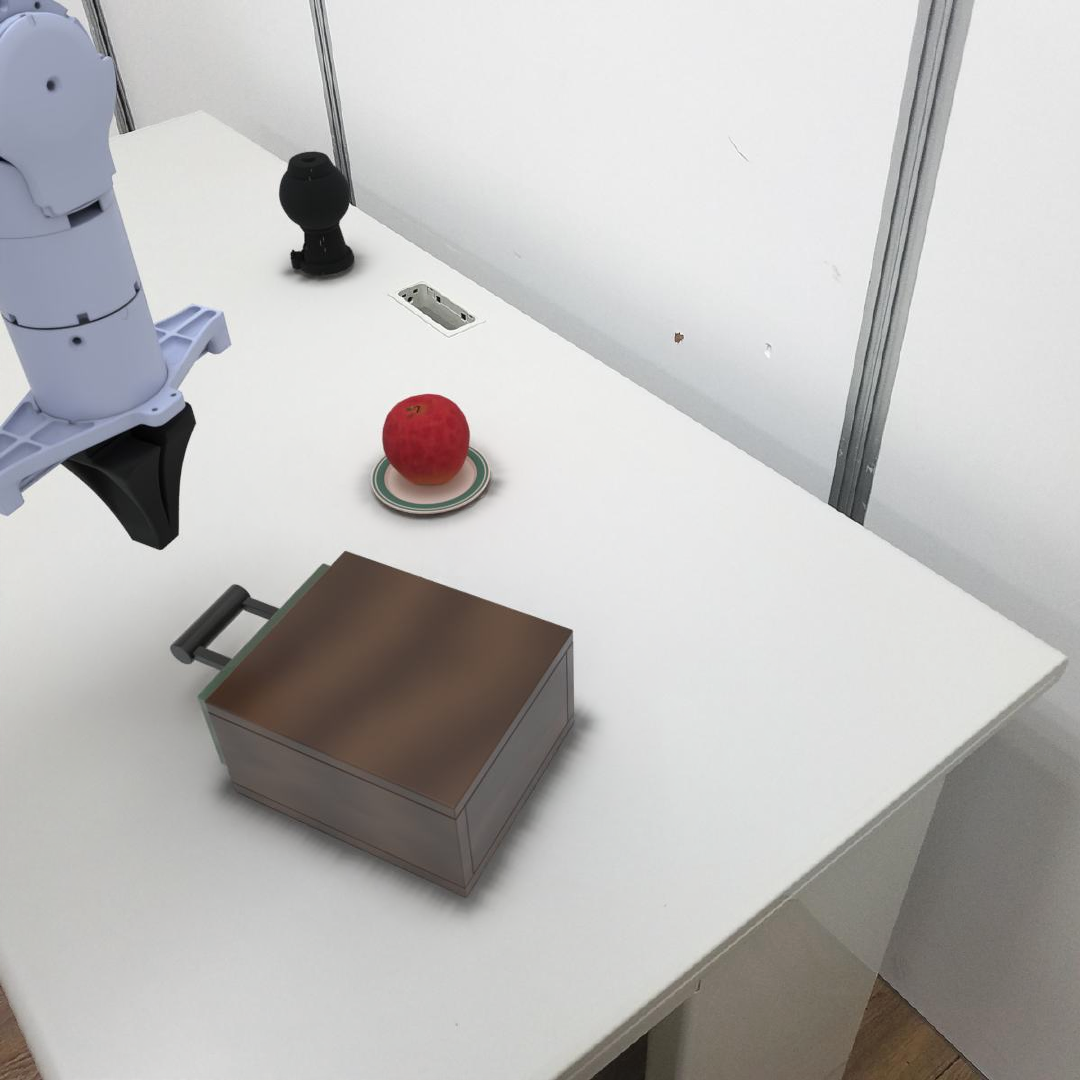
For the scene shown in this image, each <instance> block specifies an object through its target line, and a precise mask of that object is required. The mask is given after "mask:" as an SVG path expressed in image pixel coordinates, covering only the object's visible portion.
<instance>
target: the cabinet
mask: <svg viewBox="0 0 1080 1080" xmlns="http://www.w3.org/2000/svg"><path fill="white" fill-rule="evenodd" d="M329 566H330V567H329V568H328V569H327V570H326V571H325V572H324V574H323V575H322V576H321V577H320V578H319V579H318V580H317V581H316V582H315V583H314V584H313V585H312V586H311V587H310V588H309V590H308V591H307V592H306V593H305V594H304V595H303V596H302V597H301V598H300V599H299V600H298V601H297V602H296V603H295V605H294V606H293V607H292V608H291V609H290V610H289V611H288V612H287V613H286V614H285V615H284V616H283V617H282V618H281V619H280V621H279V622H278V623H277V624H276V625H275V626H274V627H273V628H272V629H271V630H270V631H269V632H268V633H267V634H266V635H265V637H264V638H263V639H262V640H261V641H260V642H259V643H258V644H257V645H256V646H255V647H254V648H253V649H252V650H251V652H250V653H249V654H248V655H247V656H246V657H245V658H244V659H243V660H242V661H241V662H240V663H239V664H238V665H237V666H236V668H235V669H234V670H233V671H232V672H231V673H230V674H229V675H228V676H227V677H226V678H225V679H224V680H223V681H222V682H221V684H220V685H219V686H218V687H217V688H216V689H215V690H214V691H213V692H212V693H211V694H210V695H209V696H208V697H207V699H206V700H205V701H204V702H205V705H206V708H207V711H208V714H209V717H210V720H211V723H212V725H213V728H214V731H215V734H216V737H217V739H218V742H219V745H220V748H221V751H222V754H223V756H224V759H225V762H226V765H225V766H226V767H227V770H228V773H229V776H230V778H231V781H232V784H233V787H234V790H235V792H237V793H238V794H241V795H244V796H246V797H247V798H250V799H252V800H254V801H256V802H259V803H261V804H263V805H264V806H267V807H269V808H272V809H274V810H275V811H278V812H280V813H282V814H285V815H287V816H289V817H290V818H293V819H295V820H297V821H299V822H302V823H304V824H306V825H309V826H311V827H313V828H314V829H317V830H319V831H321V832H323V833H326V834H328V835H329V836H332V837H334V838H337V839H339V840H341V841H343V842H344V843H347V844H350V845H351V846H354V847H356V848H358V849H361V850H363V851H364V852H367V853H369V854H371V855H373V856H375V857H378V858H380V859H382V860H384V861H385V862H388V863H391V864H393V865H395V866H397V867H400V868H401V869H404V870H406V871H408V872H410V873H413V874H415V875H417V876H419V877H421V878H423V879H425V880H427V881H430V882H432V883H434V884H436V885H439V886H441V887H443V888H445V889H447V890H449V891H451V892H454V893H456V894H458V895H460V896H462V897H465V898H467V897H468V896H469V894H470V892H471V891H472V890H473V888H474V886H475V884H476V883H477V881H478V879H479V878H480V876H481V875H482V873H483V871H484V869H485V868H486V866H487V865H488V863H489V861H490V860H491V859H492V857H493V855H494V853H495V851H496V850H497V848H498V847H499V845H500V843H501V842H502V841H503V839H504V837H505V836H506V833H507V832H508V830H509V829H510V827H511V825H512V824H513V822H514V820H515V819H516V818H517V816H518V814H519V812H520V811H521V810H522V807H523V806H524V804H525V803H526V801H527V800H528V798H529V796H530V795H531V793H532V791H533V790H534V788H535V786H536V785H537V783H538V782H539V780H540V778H541V777H542V775H543V773H544V772H545V770H546V768H547V767H548V765H549V764H550V762H551V760H552V759H553V757H554V756H555V754H556V752H557V751H558V749H559V747H560V745H561V744H562V743H563V741H564V739H565V737H566V736H567V734H568V733H569V731H570V729H571V728H572V726H573V724H574V723H575V668H574V667H575V664H574V663H575V660H574V659H575V657H574V655H575V653H574V630H573V629H572V628H570V627H569V628H568V627H566V626H563V625H561V624H557V623H554V622H552V621H549V620H546V619H543V618H540V617H537V616H534V615H531V614H529V613H526V612H523V611H520V610H517V609H514V608H511V607H508V606H506V605H502V604H500V603H498V602H494V601H491V600H488V599H486V598H482V597H479V596H477V595H474V594H472V593H468V592H465V591H463V590H460V589H457V588H454V587H451V586H448V585H445V584H443V583H439V582H437V581H433V580H432V579H428V578H426V577H423V576H419V575H416V574H414V573H412V572H411V573H410V572H408V571H405V570H402V569H400V568H396V567H393V566H391V565H388V564H385V563H382V562H379V561H376V560H374V559H370V558H367V557H365V556H362V555H359V554H357V553H354V552H351V551H348V550H343V552H342V553H341V554H340V555H339V556H338V557H337V558H336V560H335V561H334V562H333V563H332V564H331V565H329Z"/></svg>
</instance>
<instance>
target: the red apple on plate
mask: <svg viewBox="0 0 1080 1080" xmlns="http://www.w3.org/2000/svg"><path fill="white" fill-rule="evenodd" d="M381 437H382V438H381V442H382V449H383V452H384V455H383V456H381V457H380V458H379V459H378V461H377V462H376V463H375V465H374V466H373V468H372V471H371V474H370V482H371V483H370V484H371V488H372V490H373V493H374V494H375V496H376V497H377V498H378V499H379V500H380V501H381V502H382V503H383V504H384V505H387V506H388V507H390V508H392V509H395V510H398V511H400V512H403V513H409V514H416V515H417V514H418V515H430V514H432V515H433V514H440V513H445V512H449V511H453V510H455V509H458V508H461V507H463V506H465V505H467V504H469V503H470V502H472V501H474V500H475V499H476V498H478V497H479V496H480V495H481V494H482V493H483V491H484V490H485V489H486V487H487V485H488V483H489V481H490V478H491V477H490V476H491V467H490V464H489V461H488V459H487V457H486V456H485V455H484V454H483V453H482V452H481V451H480V450H479V449H477V448H476V447H474V446H473V445H470V442H471V440H470V439H471V432H470V426H469V423H468V420H467V417H466V415H465V414H464V412H463V410H462V409H461V408H460V406H459V405H458V404H457V403H456V402H454V401H453V400H451V398H448V397H446V396H443V395H441V394H435V393H422V394H417V395H413V396H411V395H410V396H409V397H406V398H404V399H402V400H400V401H399V402H397V403H396V404H395V405H394V406H393V407H392V408H391V410H390V411H389V412H388V413H387V414H386V417H385V420H384V423H383V426H382V435H381Z"/></svg>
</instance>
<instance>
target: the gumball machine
mask: <svg viewBox="0 0 1080 1080" xmlns="http://www.w3.org/2000/svg"><path fill="white" fill-rule="evenodd" d="M303 149H304V150H306V149H305V147H303ZM278 199H279V203H280V206H281V209H282V210H283V211H284V213H285V214H286V217H288V218H289V219H290V221H291V222H293V223H294V224H296V225H298V226H299V228H300V229H301V231H302V232H303V239H304V240H303V244H302V249H301V250H297V251H296V250H295V249H291V251H290V253H289V255H290V262H291V263H290V264H291V268H292V269H294V270H296V271H302V272H303V273H305V274H308V275H311V276H317V277H318V276H321V277H323V278H324V277H325V276H331V275H336V274H340V273H342V272H345V271H347V270H348V269H349V268H351V267H352V266H353V264H354V263H355V254H354V251H353V250H352V247H350V246H349V245H347V244H346V240H345V237H344V235H343V231H342V229H341V226H340V223H341V220H342V219H343V218H344V216H345V215H346V214H347V212H348V210H349V207H350V203H351V202H350V200H351V189H350V184H349V182H348V180H347V177H346V176H345V175H344V174H343V172H342V171H341V170H340V169H339V168H338V166H336V165H334V163H333V162H332V160H331V158H330V157H329V156H328V155H327V153H324V152H320V151H313V150H312V151H303V152H300V153H297V154H295V155H293V156H291V157H290V159H289V160H288V163H287V168H286V171H284V173H283V174H282V177H281V179H280V183H279V188H278Z"/></svg>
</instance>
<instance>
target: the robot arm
mask: <svg viewBox="0 0 1080 1080" xmlns="http://www.w3.org/2000/svg"><path fill="white" fill-rule="evenodd" d="M68 11H69V9H68V8H67V7H65V6H64V5H62V4H61V3H59V2H57V1H56V0H0V316H1V318H2V320H3V323H4V325H5V327H6V330H7V333H8V335H9V337H10V340H11V343H12V345H13V348H14V350H15V352H16V356H17V357H18V360H19V362H20V365H21V368H22V370H23V372H24V373H23V374H24V376H25V378H26V381H27V383H28V385H29V388H30V389H29V390H28V392H27V393H26V394H25V395H24V397H23V398H22V399H21V400H20V402H19V403H18V404H17V406H16V407H15V408H14V409H13V410H12V411H11V413H10V414H9V415H8V416H7V418H5V420H4V421H3V422H2V423H1V425H0V515H3V516H5V517H9V516H10V515H12V514H13V513H15V512H16V511H17V510H18V509H19V508H21V507H22V506H23V505H24V504H25V503H26V502H25V499H24V496H23V494H22V493H24V492H25V491H27V490H28V489H29V488H30V487H31V486H33V485H34V484H36V483H37V482H38V481H40V480H41V479H42V478H44V477H45V476H47V474H49V473H51V471H53V470H54V469H55V468H57V467H58V466H60V465H61V466H63V468H65V469H66V470H68V471H69V472H70V473H72V474H73V475H74V476H75V477H76V478H78V479H79V480H80V481H81V482H82V483H84V485H86V486H87V487H88V488H89V489H90V490H91V491H92V492H93V493H94V494H95V495H96V496H97V497H98V498H99V499H100V500H101V501H102V502H103V503H104V505H106V507H107V508H108V509H109V510H110V512H111V513H112V514H113V515H114V516H115V518H116V519H117V521H118V522H119V523H120V525H121V526H122V528H123V529H124V530H125V531H126V533H127V535H128V537H130V539H131V540H132V541H134V542H136V543H139V544H142V545H145V546H147V547H150V548H152V549H155V550H158V551H163V550H164V549H165V548H167V547H168V546H169V545H170V544H171V543H172V542H173V541H174V540H176V539H177V538H178V537H179V535H180V494H181V481H182V480H181V478H182V472H183V464H184V460H185V456H186V452H187V449H188V445H189V443H190V439H191V437H192V434H193V432H194V430H195V428H196V425H197V420H196V417H195V413H194V410H193V406H192V404H190V403H189V401H186V400H185V398H184V394H183V391H181V390H179V388H180V386H181V385H182V383H183V381H184V380H185V378H186V377H187V376H188V374H189V373H190V371H191V369H192V368H193V366H194V365H195V363H196V362H197V361H199V359H201V358H202V357H204V356H205V355H206V354H208V353H210V354H212V355H219V354H222V353H223V352H224V351H225V350H227V349H228V348H229V347H231V346H232V341H231V338H230V332H229V330H228V329H229V328H228V326H227V321H226V316H225V314H224V311H222V310H219V309H215V308H211V307H208V306H203V305H200V304H196V303H190V304H189V305H186V307H185V308H184V307H183V308H182V309H181V310H179V311H177V312H176V313H174V314H172V315H169V316H168V317H165V318H163V319H160V320H159V321H156V322H154V321H153V317H152V313H151V310H150V307H149V303H148V300H147V296H146V294H145V290H144V287H143V283H142V279H141V277H140V273H139V270H138V266H137V264H136V260H135V256H134V253H133V249H132V246H131V243H130V239H129V236H128V232H127V229H126V225H125V223H124V219H123V217H122V213H121V209H120V206H119V203H118V200H117V196H116V193H115V189H114V181H113V175H115V174H117V169H116V166H115V163H114V159H113V155H112V152H111V148H110V140H109V139H110V128H111V124H112V121H113V117H114V113H115V109H116V101H117V76H116V69H115V65H114V64H115V63H114V59H113V58H112V57H111V56H107V55H106V56H105V57H104V54H102V53H99V52H98V49H97V48H96V46H95V44H94V43H93V41H92V39H91V37H90V35H89V33H88V31H87V30H86V28H85V27H84V26H83V24H82V23H81V21H80V20H79V19H78V18H77V17H76V16H70V15H68Z"/></svg>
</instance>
